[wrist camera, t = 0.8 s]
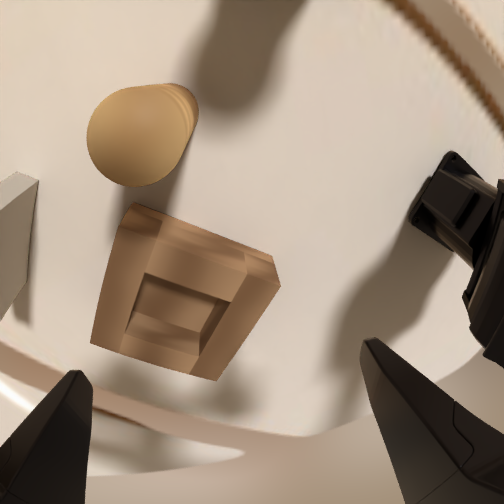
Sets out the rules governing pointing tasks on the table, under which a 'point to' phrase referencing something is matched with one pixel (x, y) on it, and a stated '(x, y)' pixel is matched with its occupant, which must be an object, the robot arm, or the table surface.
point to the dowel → (141, 132)
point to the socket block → (180, 294)
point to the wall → (15, 234)
